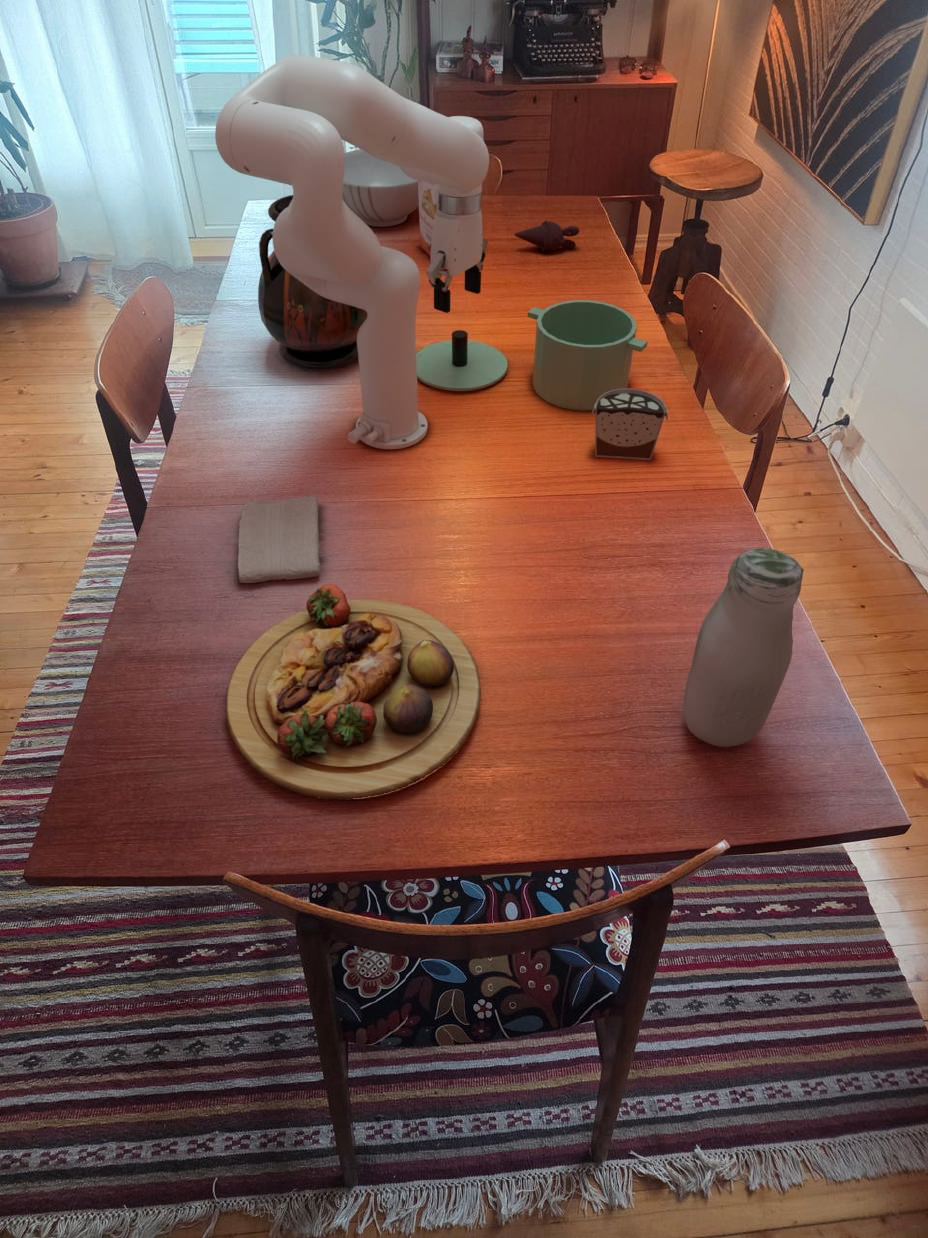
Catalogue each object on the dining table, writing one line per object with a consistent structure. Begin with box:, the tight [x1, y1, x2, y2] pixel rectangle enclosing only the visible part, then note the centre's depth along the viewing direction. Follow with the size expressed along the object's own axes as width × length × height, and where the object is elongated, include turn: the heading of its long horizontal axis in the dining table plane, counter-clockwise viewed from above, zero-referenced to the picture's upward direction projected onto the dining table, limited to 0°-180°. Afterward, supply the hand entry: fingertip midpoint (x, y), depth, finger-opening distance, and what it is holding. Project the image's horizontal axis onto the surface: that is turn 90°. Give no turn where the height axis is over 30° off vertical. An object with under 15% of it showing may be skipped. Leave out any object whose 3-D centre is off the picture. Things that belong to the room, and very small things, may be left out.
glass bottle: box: [682, 547, 805, 748], centre depth 99 cm, size 10×10×28 cm
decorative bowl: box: [342, 149, 419, 228], centre depth 217 cm, size 27×27×12 cm
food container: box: [591, 388, 669, 461], centre depth 147 cm, size 12×6×10 cm, turn 84°
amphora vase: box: [257, 194, 367, 371], centre depth 164 cm, size 22×22×28 cm
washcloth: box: [237, 495, 322, 584], centre depth 132 cm, size 12×18×3 cm, turn 9°
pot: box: [527, 299, 648, 411], centre depth 161 cm, size 18×23×12 cm
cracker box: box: [418, 180, 448, 271], centre depth 198 cm, size 14×6×21 cm, turn 25°
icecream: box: [514, 220, 580, 254], centre depth 206 cm, size 7×7×15 cm
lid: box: [416, 329, 509, 392], centre depth 167 cm, size 18×18×7 cm
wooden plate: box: [225, 583, 482, 801], centre depth 109 cm, size 32×32×8 cm
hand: (457, 300), depth 159 cm, fingers open, 9 cm apart
